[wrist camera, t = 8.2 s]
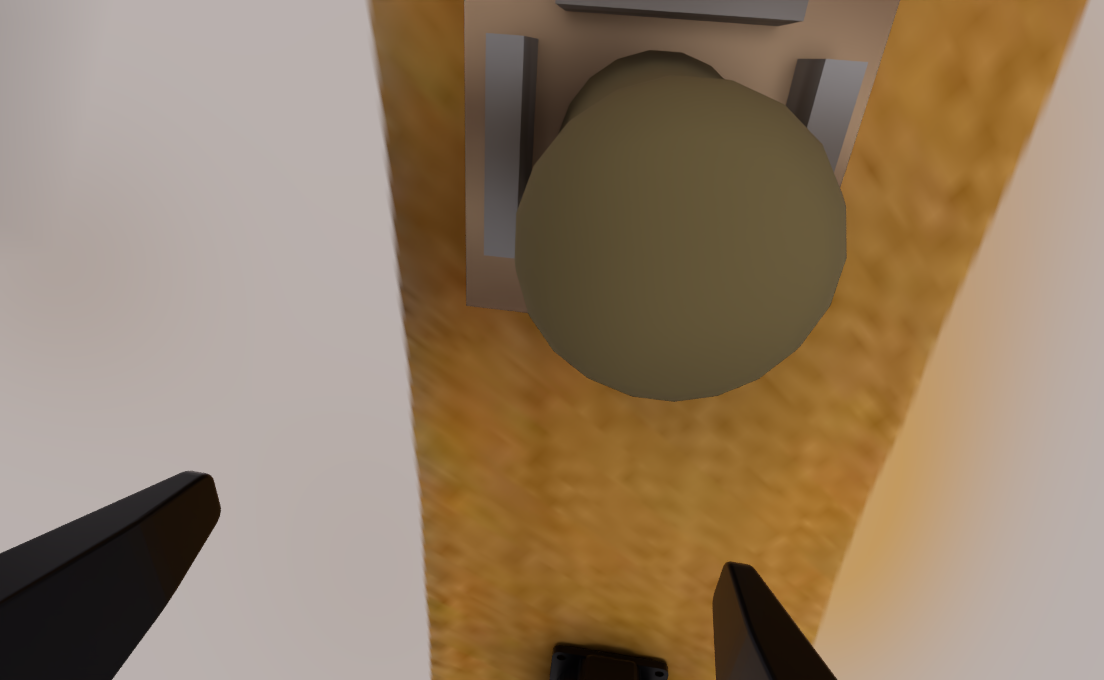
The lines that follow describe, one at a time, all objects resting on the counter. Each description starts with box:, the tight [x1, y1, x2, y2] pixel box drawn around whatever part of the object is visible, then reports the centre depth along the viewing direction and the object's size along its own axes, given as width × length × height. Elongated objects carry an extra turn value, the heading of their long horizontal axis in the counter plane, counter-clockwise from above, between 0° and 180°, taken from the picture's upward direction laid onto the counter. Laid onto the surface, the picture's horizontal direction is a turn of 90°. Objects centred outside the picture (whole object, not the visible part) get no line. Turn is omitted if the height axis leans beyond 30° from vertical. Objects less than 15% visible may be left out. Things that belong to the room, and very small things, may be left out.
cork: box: [515, 50, 846, 402], centre depth 12 cm, size 6×6×11 cm
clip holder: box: [464, 0, 900, 313], centre depth 16 cm, size 12×12×3 cm
